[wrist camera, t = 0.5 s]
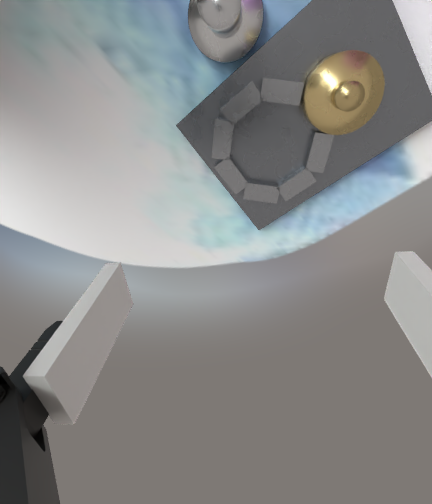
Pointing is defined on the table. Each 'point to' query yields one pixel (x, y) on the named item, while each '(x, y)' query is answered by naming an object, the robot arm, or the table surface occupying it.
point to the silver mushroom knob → (225, 27)
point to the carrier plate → (291, 112)
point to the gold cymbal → (343, 92)
